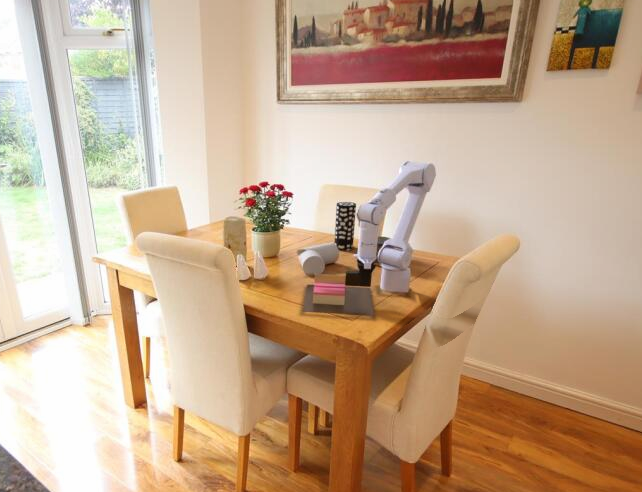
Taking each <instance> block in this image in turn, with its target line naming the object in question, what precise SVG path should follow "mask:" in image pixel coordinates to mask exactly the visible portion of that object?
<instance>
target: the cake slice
mask: <svg viewBox="0 0 642 492" xmlns="http://www.w3.org/2000/svg"><path fill="white" fill-rule="evenodd" d="M344 301H345V289H341V288H322V287H314V292H313V303H315V304H332V305H344Z"/></svg>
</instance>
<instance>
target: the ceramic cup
mask: <svg viewBox="0 0 642 492" xmlns="http://www.w3.org/2000/svg"><path fill="white" fill-rule="evenodd" d="M391 238H392V237H388V236H381V235H378V241H377V252H376V256H377V258H376V260H375V262H374V265H376V267H377V266H378V267H381V266H380V265H381V263H379V261H378V253H379V251H380V249H381V248H382V246H383V244H384V242H385V241H387V240H389V239H391Z"/></svg>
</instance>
